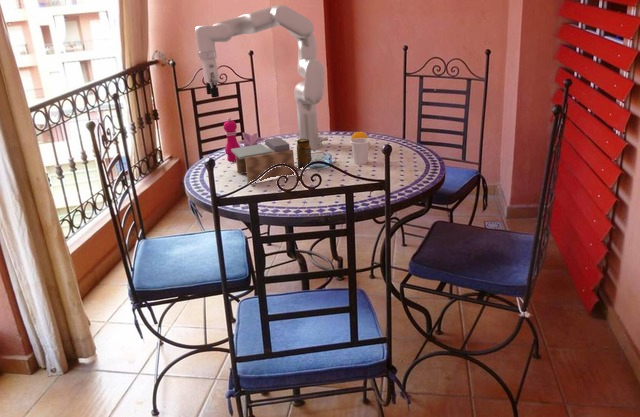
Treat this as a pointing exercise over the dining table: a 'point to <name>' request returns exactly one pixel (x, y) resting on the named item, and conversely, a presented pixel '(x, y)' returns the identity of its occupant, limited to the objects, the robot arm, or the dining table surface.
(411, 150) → the dining table surface
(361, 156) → the dixie cup
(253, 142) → the lily
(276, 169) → the stand
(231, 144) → the pepper mill
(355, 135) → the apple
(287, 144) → the trapdoor
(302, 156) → the condiment
